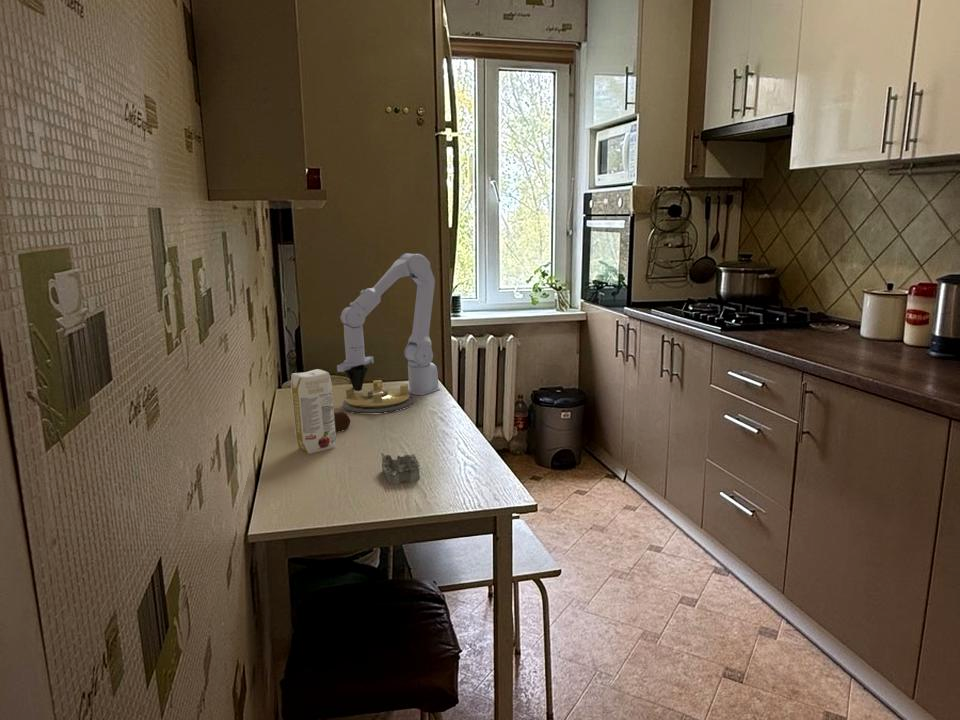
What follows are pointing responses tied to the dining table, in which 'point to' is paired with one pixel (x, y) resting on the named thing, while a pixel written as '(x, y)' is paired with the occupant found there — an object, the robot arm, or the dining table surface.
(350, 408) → the grey plate
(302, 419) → the juice carton
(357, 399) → the round tray
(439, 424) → the dining table surface
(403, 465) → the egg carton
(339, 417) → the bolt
